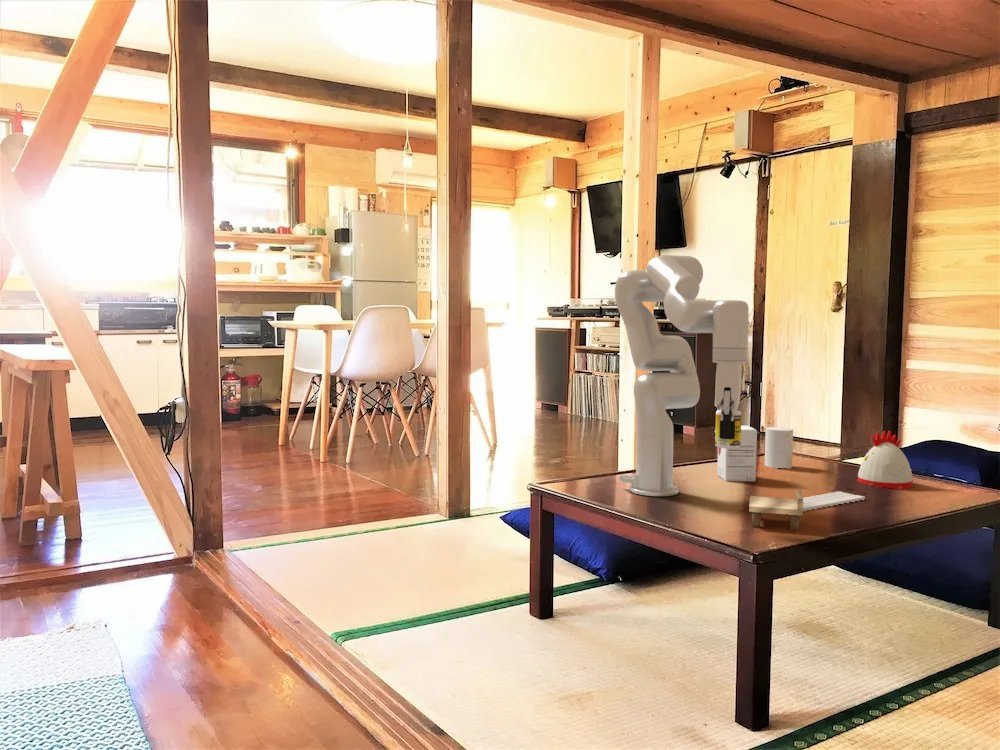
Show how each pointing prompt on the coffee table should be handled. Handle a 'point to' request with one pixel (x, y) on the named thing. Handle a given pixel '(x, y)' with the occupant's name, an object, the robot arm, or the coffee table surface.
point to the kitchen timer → (886, 464)
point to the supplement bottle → (737, 440)
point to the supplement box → (739, 458)
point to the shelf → (777, 508)
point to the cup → (778, 447)
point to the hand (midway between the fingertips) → (728, 436)
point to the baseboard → (830, 499)
